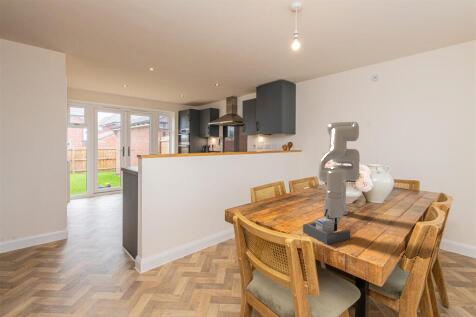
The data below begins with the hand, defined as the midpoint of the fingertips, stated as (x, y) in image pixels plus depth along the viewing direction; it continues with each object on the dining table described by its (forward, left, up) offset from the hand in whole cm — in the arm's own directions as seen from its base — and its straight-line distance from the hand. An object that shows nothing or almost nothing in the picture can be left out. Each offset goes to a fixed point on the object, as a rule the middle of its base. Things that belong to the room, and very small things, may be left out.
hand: (333, 230), depth 115 cm
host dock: (+5, 0, -2) cm, 6 cm away
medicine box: (+7, +1, -2) cm, 7 cm away
